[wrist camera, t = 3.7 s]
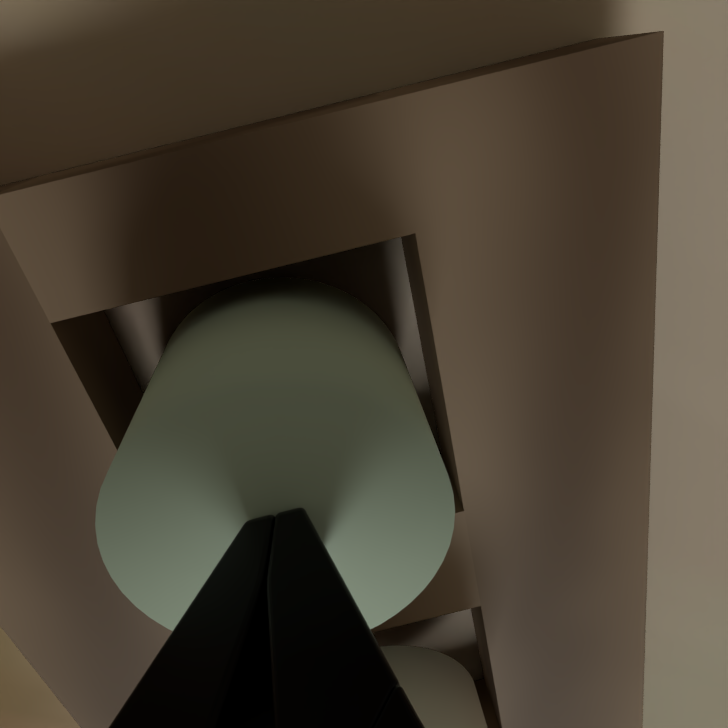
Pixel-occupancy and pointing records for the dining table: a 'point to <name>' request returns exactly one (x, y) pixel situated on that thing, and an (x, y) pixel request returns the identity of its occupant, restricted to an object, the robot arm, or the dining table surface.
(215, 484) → the button sage
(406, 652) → the button cream
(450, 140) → the button board
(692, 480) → the dining table surface
